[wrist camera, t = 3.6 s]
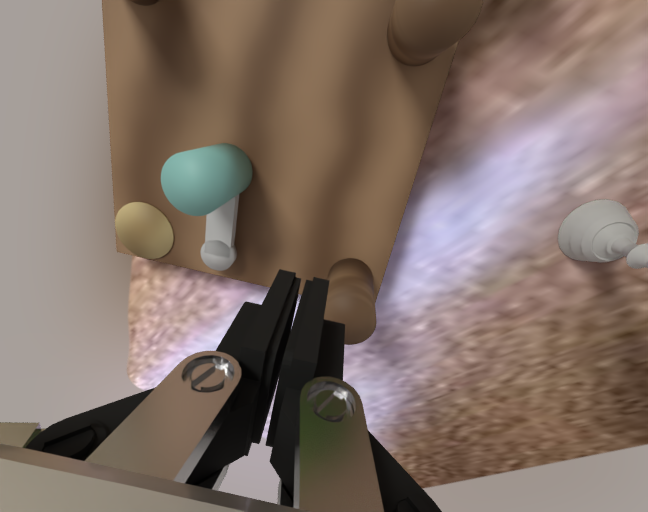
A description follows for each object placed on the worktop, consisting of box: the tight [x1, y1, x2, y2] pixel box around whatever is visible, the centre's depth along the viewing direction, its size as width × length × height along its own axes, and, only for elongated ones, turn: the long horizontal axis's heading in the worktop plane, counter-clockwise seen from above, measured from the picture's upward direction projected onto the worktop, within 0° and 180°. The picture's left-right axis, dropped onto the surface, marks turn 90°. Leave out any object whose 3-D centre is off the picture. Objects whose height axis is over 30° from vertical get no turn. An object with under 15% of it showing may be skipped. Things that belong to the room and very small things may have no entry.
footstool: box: [102, 0, 483, 345], centre depth 22 cm, size 22×22×8 cm
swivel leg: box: [161, 143, 253, 271], centre depth 22 cm, size 4×10×6 cm, turn 168°
